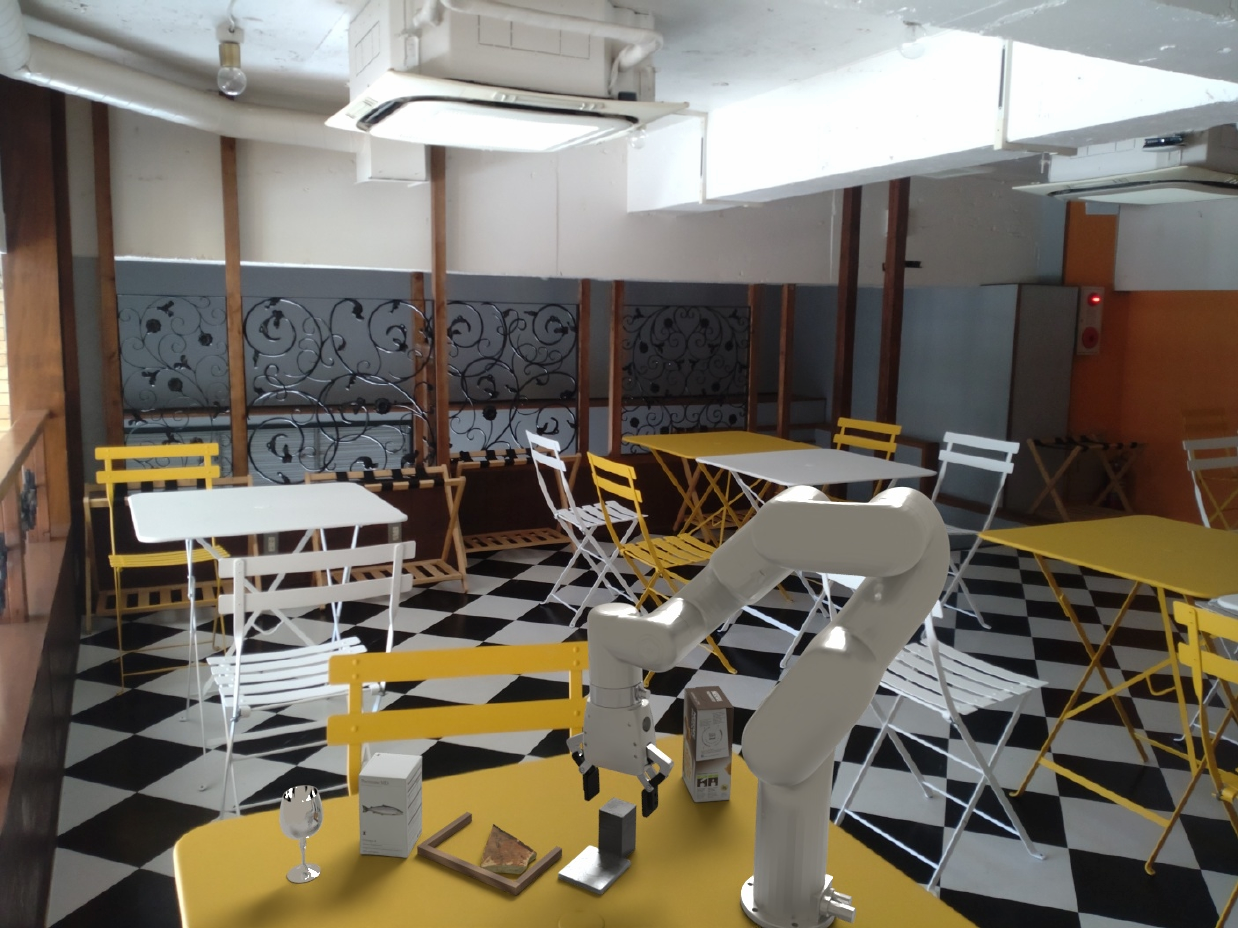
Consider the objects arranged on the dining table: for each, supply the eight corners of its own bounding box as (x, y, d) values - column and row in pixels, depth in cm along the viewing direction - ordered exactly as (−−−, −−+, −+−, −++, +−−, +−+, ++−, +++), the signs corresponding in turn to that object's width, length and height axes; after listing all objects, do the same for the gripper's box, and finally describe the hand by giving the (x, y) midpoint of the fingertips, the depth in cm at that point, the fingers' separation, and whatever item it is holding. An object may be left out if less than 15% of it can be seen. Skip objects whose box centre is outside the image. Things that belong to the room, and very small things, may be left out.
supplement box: (358, 855, 133) (355, 774, 131) (377, 827, 141) (375, 750, 138) (407, 859, 133) (405, 778, 130) (424, 831, 140) (422, 753, 138)
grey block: (604, 837, 139) (604, 794, 138) (644, 851, 136) (645, 807, 134) (558, 877, 129) (558, 832, 128) (600, 894, 125) (601, 847, 124)
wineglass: (280, 888, 125) (276, 807, 123) (283, 863, 131) (280, 785, 129) (324, 882, 127) (321, 801, 125) (326, 858, 132) (323, 781, 130)
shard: (493, 832, 141) (493, 821, 140) (542, 834, 140) (542, 823, 140) (478, 875, 130) (478, 863, 130) (532, 877, 130) (532, 866, 129)
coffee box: (731, 800, 150) (735, 707, 147) (693, 803, 149) (697, 710, 146) (716, 772, 159) (719, 684, 156) (680, 775, 158) (682, 686, 155)
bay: (562, 855, 134) (562, 848, 134) (515, 895, 125) (515, 887, 125) (467, 818, 143) (466, 811, 143) (417, 853, 134) (417, 845, 134)
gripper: (683, 692, 129) (685, 807, 131) (580, 672, 138) (584, 779, 140) (657, 712, 122) (660, 832, 125) (551, 690, 131) (556, 802, 134)
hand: (620, 804), depth 133 cm, fingers open, 9 cm apart
